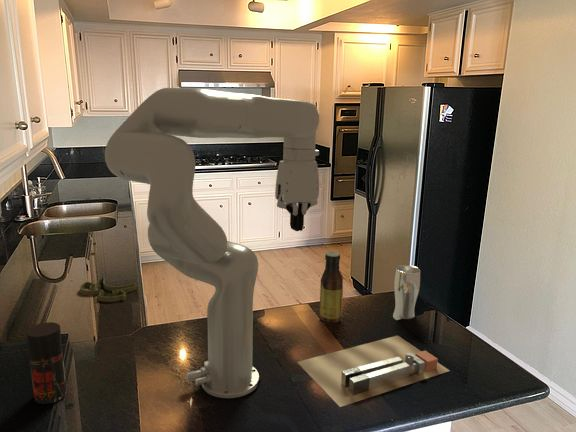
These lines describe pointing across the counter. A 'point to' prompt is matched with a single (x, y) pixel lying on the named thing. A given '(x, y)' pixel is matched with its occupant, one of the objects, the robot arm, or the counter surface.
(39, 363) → the deodorant
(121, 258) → the counter surface
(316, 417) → the counter surface
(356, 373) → the tong jaw
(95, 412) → the counter surface
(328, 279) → the sauce bottle
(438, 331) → the counter surface
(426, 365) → the tab
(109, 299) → the cookie cutter
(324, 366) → the board
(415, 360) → the base
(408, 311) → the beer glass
